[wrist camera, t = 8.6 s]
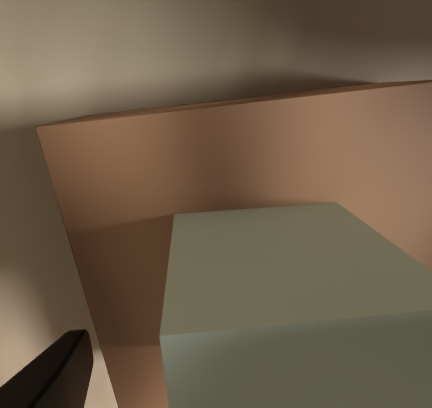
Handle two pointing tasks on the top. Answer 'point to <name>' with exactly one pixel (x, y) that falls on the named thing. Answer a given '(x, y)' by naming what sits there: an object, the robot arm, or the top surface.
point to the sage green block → (293, 312)
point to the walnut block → (226, 192)
